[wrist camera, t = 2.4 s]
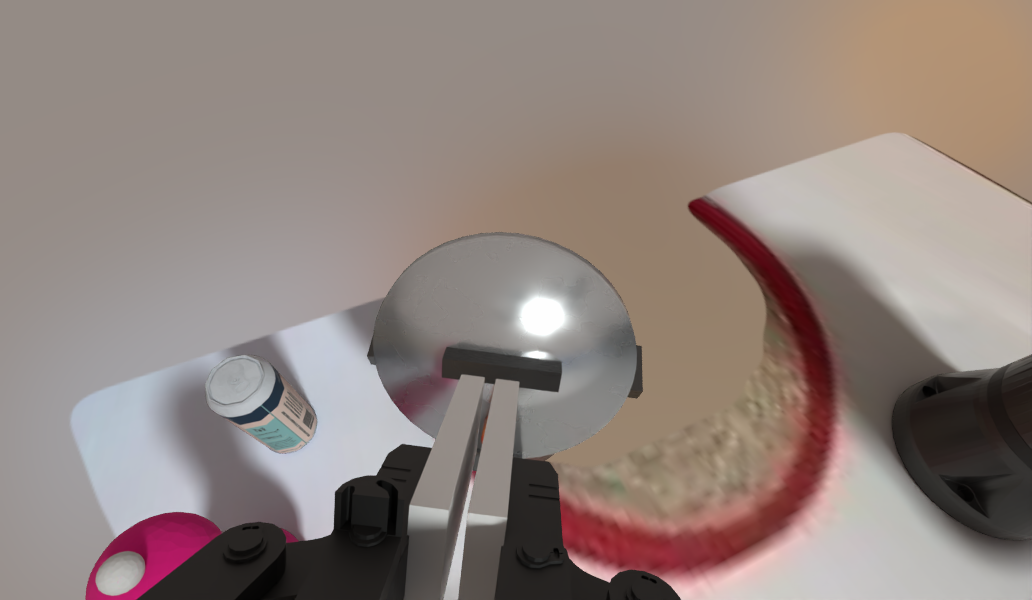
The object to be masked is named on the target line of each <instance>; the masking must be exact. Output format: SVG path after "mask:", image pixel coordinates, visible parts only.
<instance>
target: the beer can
mask: <svg viewBox="0 0 1032 600" xmlns="http://www.w3.org/2000/svg"><path fill="white" fill-rule="evenodd" d="M205 396H206V401H207V404H208V405H209V407H210V408H211V409H212V410H213V411H214V412H215V413H217V414H219V415H221V416H222V417H224V418H225V419H227V420H228V421H230V422H231V423H232V424H234V425H235V426H237V427H238V428H240V429H241V430H243V431H244V432H246V433H247V434H249V435H250V436H252V437H253V438H255V439H256V440H258V441H259V442H261V443H262V444H264V445H265V446H267V447H268V448H269V449H270V450H272V451H274V452H277V453H282V454H286V453H292V452H295V451H297V450H299V449H301V448H302V447H304V446H305V445H306V444H307V443H308V442H309V441H310V440H311V439H312V437H313V436H314V434H315V431H316V427H317V417H316V414H315V412H314V410H313V409H312V408H311V407H310V406H309V405H308V404H307V402H306V401H305V400H304V399H303V398H302V397H301V396H300V395H299V394H298V393H297V392H296V391H295V390H294V389H293V388H292V386H291V385H290V384H289V383H288V382H287V381H286V380H285V379H284V378H283V377H282V376H281V375H280V374H279V373H278V371H277V370H276V369H275V368H274V367H273V366H272V365H271V364H270V363H269V362H268V361H266V360H265V359H263V358H261V357H259V356H255V355H240V356H235V357H229V358H226V359H225V360H224V361H222V362H221V363H220V364H218V365H217V366H216V367H214V368H213V369H212V370H211V373H210V375H209V377H208V379H207V382H206V384H205Z"/></svg>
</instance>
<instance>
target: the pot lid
mask: <svg viewBox="0 0 1032 600" xmlns="http://www.w3.org/2000/svg"><path fill="white" fill-rule="evenodd" d="M373 350H374V359H375V364H376V367H377V371H378V374H379V377H380V379H381V381H382V384H383V386H384V388H385V390H386V391H387V393H388V395H389V396H390V398H391V400H392V401H393V402H394V403H395V405H396V406H397V407H398V409H399V410H400V411H401V412H402V413H403V414H404V415H405V416H406V417H407V418H408V419H409V420H410V421H411V422H412V423H413V424H415V425H416V426H417V427H418V428H420V429H421V430H422V431H424V432H425V433H427V434H428V435H430V436H432V437H433V438H435V439H436V437H437V435H438V432H439V430H440V427H441V425H442V422H443V420H444V417H445V415H446V412H447V410H448V407H449V405H450V402H451V400H452V397H453V395H454V392H455V390H456V387H457V385H458V382H459V380H460V377H461V375H462V374H463V375H471V376H479V377H485V380H484V389H483V398H482V407H481V416H480V425H479V434H478V443H477V452H476V457H475V461H474V466H473V470H474V471H477V467H478V462H479V457H480V453H481V448H482V443H483V438H484V434H485V429H486V424H487V419H488V415H489V410H490V405H491V400H492V396H493V391H494V386H495V382H496V379H502V380H510V381H518V382H519V392H518V403H517V414H516V425H515V437H514V448H513V457H516V458H523V459H526V458H535V457H541V456H546V455H550V454H554V453H557V452H560V451H563V450H566V449H568V448H571V447H573V446H575V445H578V444H580V443H581V442H583V441H585V440H586V439H588V438H590V437H592V436H593V435H594V434H595V433H597V432H598V431H599V430H601V429H602V428H603V427H604V426H605V425H606V424H607V423H608V422H609V421H610V420H611V419H612V418H613V417H614V416H615V415H616V413H617V412H618V411H619V409H620V408H621V407H622V405H623V403H624V402H625V400H626V398H627V396H628V394H629V392H630V389H631V386H632V384H633V381H634V376H635V371H636V363H637V349H636V342H635V336H634V332H633V328H632V325H631V321H630V318H629V315H628V311H627V309H626V308H625V305H624V303H623V301H622V299H621V297H620V295H619V294H618V293H617V291H616V290H615V288H614V287H613V285H612V284H611V283H610V281H609V280H608V279H607V278H606V277H605V276H604V275H603V274H602V273H601V272H600V271H599V270H598V269H597V268H595V266H593V265H592V264H591V263H590V262H589V261H587V260H586V259H584V258H583V257H581V256H579V255H578V254H576V253H575V252H573V251H571V250H570V249H567V248H565V247H563V246H561V245H559V244H557V243H554V242H551V241H548V240H545V239H542V238H539V237H535V236H529V235H524V234H519V233H503V232H495V233H480V234H475V235H470V236H465V237H461V238H458V239H455V240H452V241H449V242H446V243H444V244H442V245H440V246H438V247H436V248H434V249H431V250H430V251H428V252H427V253H425V254H424V255H422V256H421V257H419V258H418V259H416V260H415V261H414V262H413V263H412V264H411V265H410V266H409V267H408V268H407V269H406V270H405V271H404V272H403V273H402V274H401V276H400V277H399V278H398V279H397V281H396V282H395V283H394V285H393V286H392V288H391V289H390V291H389V292H388V294H387V296H386V298H385V299H384V301H383V303H382V305H381V307H380V310H379V313H378V315H377V318H376V323H375V328H374V335H373Z"/></svg>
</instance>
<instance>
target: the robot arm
mask: <svg viewBox="0 0 1032 600" xmlns="http://www.w3.org/2000/svg"><path fill="white" fill-rule="evenodd" d="M484 380H485V377H479V376H471V375H463V374H462V375H461V377H460V380H459V382H458V385H457V387H456V390H455V392H454V395H453V397H452V400H451V402H450V405H449V407H448V410H447V412H446V415H445V417H444V420H443V422H442V425H441V427H440V430H439V432H438V435H437V437H436V440H435V442H434V445H433V447H432V448H428V447H420V446H413V445H405V444H401V445H400V446H399V447H397V448H396V449H394V450H393V451H391V452H390V453H389V454H388V455H387V457H386V459H385V461H384V463H383V464H382V467H381V468H380V470H379V472H378V473H377V475H376V476H363V477H359V478H354V479H352V480H350V481H348V482H346V483H344V484H342V485H341V487H340V488H339V489H338V490H337V491H336V492H335V510H334V530H333V532H332V533H331V535H329V536H326V537H323V538H319V539H314V540H308V541H299V542H290V543H286V536H285V534H284V532H283V530H282V529H281V528H279V527H277V526H275V525H274V524H269V523H263V522H256V523H247V524H242V525H239V526H237V527H234V528H231V529H228V530H227V531H225V532H223V533H222V534H220V535H218V536H217V537H215V538H214V539H213V540H211V541H210V542H209V543H208V544H206V545H205V546H204V547H203V548H201V549H200V550H199V551H197V552H196V553H195V554H194V555H192V556H191V557H190V558H189V559H187V560H186V561H185V562H183V563H182V564H181V565H180V566H178V567H177V568H176V569H174V570H173V571H172V572H171V573H169V574H168V575H167V576H166V577H164V578H163V579H162V580H160V581H159V582H158V583H157V584H155V585H154V586H153V587H152V588H150V589H149V590H148V591H146V592H145V593H144V594H143V595H141V596H140V597H139V598H138V599H136V600H443V598H444V594H445V589H446V585H447V580H448V576H449V572H450V567H451V563H452V558H453V554H454V550H455V545H456V541H457V536H458V532H459V527H460V523H461V519H462V514H463V510H464V505H465V501H466V496H467V492H468V488H469V483H470V479H471V474H472V470H473V466H474V461H475V457H476V452H477V443H478V434H479V425H480V416H481V407H482V398H483V389H484ZM518 392H519V382H518V381H510V380H502V379H496V382H495V386H494V391H493V396H492V400H491V405H490V410H489V415H488V419H487V424H486V429H485V434H484V438H483V443H482V448H481V453H480V457H479V462H478V467H477V472H476V476H475V481H474V486H473V490H472V495H471V500H470V505H469V509H468V515H467V525H466V534H465V543H464V552H463V561H462V570H461V579H460V588H459V597H458V600H681V599H680V597H679V596H678V595H677V593H676V592H675V591H674V590H673V589H672V587H671V586H670V585H668V584H667V583H666V582H664V581H663V580H662V579H660V578H659V577H657V576H655V575H652V574H650V573H647V572H645V571H637V570H627V571H623V572H619V573H618V574H617V575H615V576H614V577H613V578H612V579H611V582H610V583H609V582H607V581H604V580H602V579H599V578H597V577H594V576H592V575H590V574H588V573H586V572H584V571H583V570H581V569H580V568H579V567H577V566H576V565H575V564H574V563H573V562H572V561H571V560H570V559H569V556H568V553H567V550H566V549H565V548H564V546H563V539H562V526H561V512H560V501H559V499H560V498H559V484H558V474H557V473H556V471H555V470H554V468H553V467H552V465H551V464H550V462H546V461H539V460H531V459H523V458H516V457H513V448H514V437H515V425H516V414H517V403H518ZM892 423H893V434H894V439H895V443H896V446H897V449H898V451H899V454H900V456H901V458H902V460H903V462H904V464H905V466H906V468H907V469H908V471H909V473H910V474H911V476H912V477H913V479H914V480H915V481H916V483H917V484H918V485H919V486H920V488H921V489H922V490H923V491H924V492H925V493H926V494H927V495H928V497H929V498H930V499H931V500H933V501H934V502H935V503H936V504H937V505H938V506H939V507H940V508H941V509H943V510H944V511H945V512H946V513H948V514H949V515H950V516H952V517H953V518H955V519H956V520H958V521H959V522H961V523H963V524H964V525H966V526H968V527H970V528H972V529H974V530H976V531H978V532H981V533H983V534H986V535H989V536H992V537H996V538H1001V539H1007V540H1025V539H1032V354H1031V355H1029V356H1027V357H1024V358H1022V359H1020V360H1018V361H1015V362H1013V363H1011V364H1008V365H1006V366H1004V367H1001V368H995V369H985V370H975V371H964V372H954V373H945V374H940V375H936V376H933V377H930V378H928V379H926V380H924V381H921V382H919V383H917V384H915V385H913V386H911V387H910V388H908V389H907V390H906V391H905V392H904V393H903V394H902V395H901V396H900V398H899V399H898V401H897V403H896V405H895V408H894V412H893V421H892Z"/></svg>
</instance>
